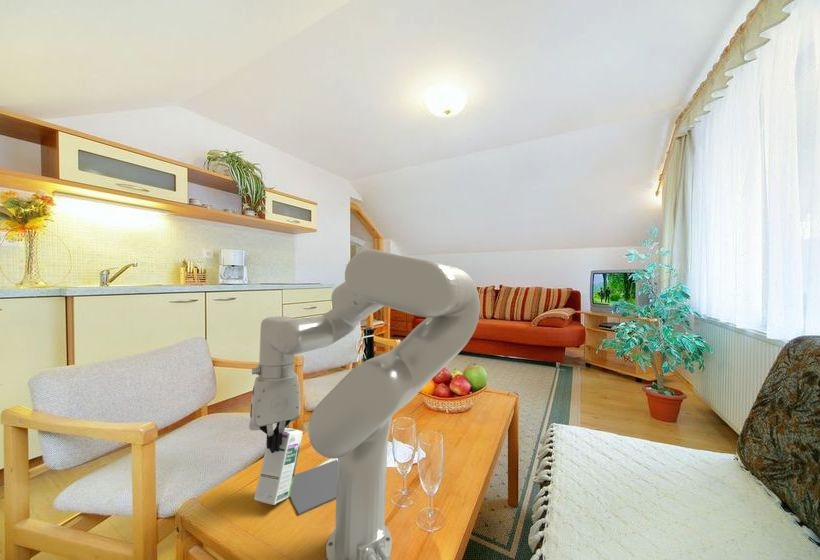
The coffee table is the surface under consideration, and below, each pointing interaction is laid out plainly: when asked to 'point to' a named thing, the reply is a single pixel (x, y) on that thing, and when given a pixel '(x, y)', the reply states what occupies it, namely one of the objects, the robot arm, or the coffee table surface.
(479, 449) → the coffee table surface
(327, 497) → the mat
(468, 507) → the coffee table surface
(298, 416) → the robot arm
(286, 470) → the syrup box
